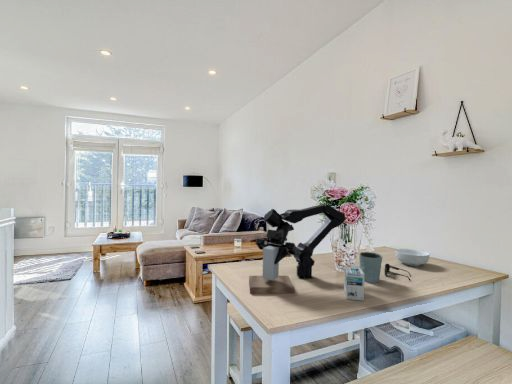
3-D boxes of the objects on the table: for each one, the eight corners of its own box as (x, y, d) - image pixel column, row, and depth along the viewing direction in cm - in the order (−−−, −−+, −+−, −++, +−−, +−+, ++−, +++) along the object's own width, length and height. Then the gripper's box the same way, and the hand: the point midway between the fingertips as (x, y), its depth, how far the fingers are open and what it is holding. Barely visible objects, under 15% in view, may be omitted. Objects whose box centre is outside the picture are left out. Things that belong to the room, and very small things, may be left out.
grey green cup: (367, 275, 139) (368, 251, 139) (386, 281, 131) (387, 255, 130) (353, 278, 134) (354, 253, 133) (372, 285, 125) (373, 258, 125)
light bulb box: (364, 301, 108) (365, 273, 108) (346, 299, 110) (346, 272, 109) (359, 290, 119) (360, 265, 118) (343, 289, 120) (344, 264, 120)
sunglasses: (385, 271, 146) (386, 261, 146) (410, 278, 140) (412, 269, 140) (381, 276, 137) (383, 266, 137) (409, 285, 131) (411, 274, 131)
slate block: (278, 276, 122) (279, 247, 121) (272, 280, 118) (273, 249, 117) (268, 274, 125) (269, 245, 124) (262, 277, 121) (263, 248, 120)
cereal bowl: (431, 264, 160) (432, 251, 160) (425, 270, 147) (426, 257, 147) (399, 258, 171) (399, 246, 171) (391, 264, 159) (391, 251, 158)
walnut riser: (288, 280, 129) (288, 275, 129) (293, 293, 115) (294, 287, 115) (248, 281, 128) (249, 275, 128) (250, 293, 114) (250, 287, 114)
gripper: (257, 220, 129) (243, 249, 120) (295, 224, 119) (283, 256, 110) (265, 234, 136) (253, 263, 127) (302, 239, 126) (291, 270, 117)
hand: (269, 262), depth 120 cm, fingers closed on slate block, 5 cm apart
